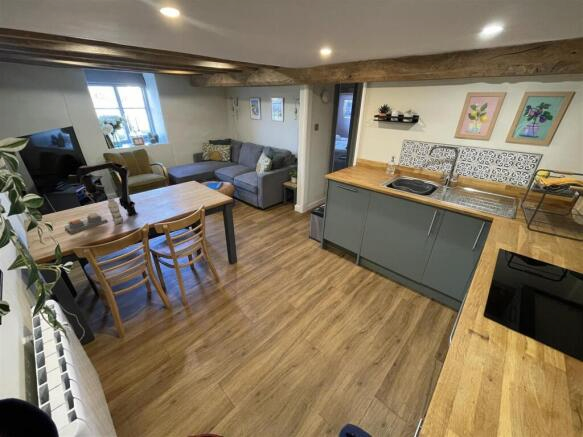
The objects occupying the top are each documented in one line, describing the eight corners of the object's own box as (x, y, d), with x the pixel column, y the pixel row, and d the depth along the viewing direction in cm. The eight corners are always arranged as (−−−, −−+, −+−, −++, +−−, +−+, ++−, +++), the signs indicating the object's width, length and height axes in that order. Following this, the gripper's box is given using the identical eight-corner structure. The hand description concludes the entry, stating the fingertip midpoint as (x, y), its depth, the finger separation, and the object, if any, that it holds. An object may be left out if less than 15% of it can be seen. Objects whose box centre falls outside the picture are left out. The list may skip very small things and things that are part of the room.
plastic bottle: (122, 220, 183) (114, 196, 173) (125, 222, 179) (117, 198, 170) (112, 222, 178) (103, 198, 169) (115, 225, 174) (106, 201, 165)
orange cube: (81, 223, 169) (79, 219, 168) (73, 225, 166) (71, 221, 164) (78, 221, 171) (76, 217, 170) (71, 224, 168) (69, 219, 166)
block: (107, 221, 180) (105, 215, 177) (72, 233, 163) (69, 227, 161) (100, 217, 185) (98, 211, 183) (65, 228, 169) (62, 222, 167)
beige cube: (99, 217, 177) (97, 213, 176) (92, 220, 174) (90, 215, 173) (96, 216, 180) (94, 212, 178) (89, 218, 176) (87, 214, 175)
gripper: (106, 182, 175) (113, 202, 182) (94, 178, 183) (101, 197, 190) (89, 187, 166) (97, 207, 174) (77, 182, 175) (85, 201, 182)
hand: (96, 202), depth 180 cm, fingers closed
